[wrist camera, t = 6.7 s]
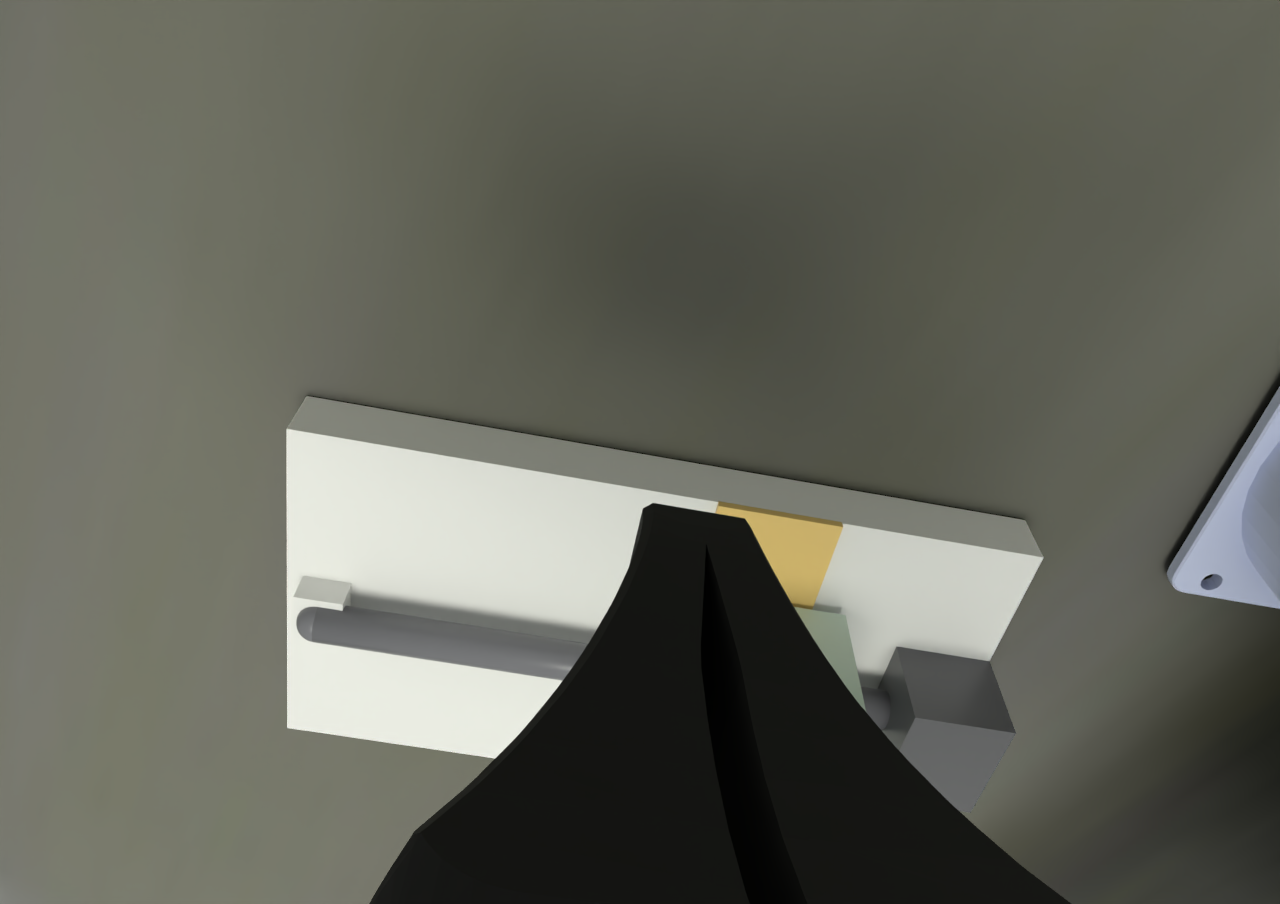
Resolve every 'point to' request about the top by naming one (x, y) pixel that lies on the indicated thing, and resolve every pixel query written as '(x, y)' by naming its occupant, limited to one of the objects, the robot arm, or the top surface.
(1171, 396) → the top surface
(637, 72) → the top surface
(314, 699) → the board
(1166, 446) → the top surface
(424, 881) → the robot arm
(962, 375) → the top surface
